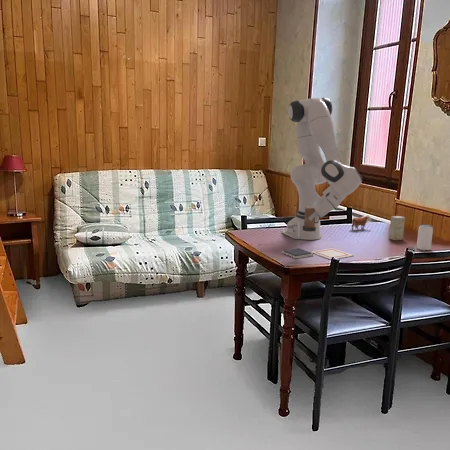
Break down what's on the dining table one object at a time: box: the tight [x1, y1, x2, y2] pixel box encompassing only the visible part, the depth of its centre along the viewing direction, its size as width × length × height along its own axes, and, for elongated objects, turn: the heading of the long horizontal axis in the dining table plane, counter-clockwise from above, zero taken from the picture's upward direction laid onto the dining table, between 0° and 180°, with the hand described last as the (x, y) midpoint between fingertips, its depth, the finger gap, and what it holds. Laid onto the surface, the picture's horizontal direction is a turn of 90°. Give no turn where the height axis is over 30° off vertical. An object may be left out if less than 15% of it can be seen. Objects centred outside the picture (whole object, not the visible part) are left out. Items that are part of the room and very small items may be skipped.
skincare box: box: [388, 215, 406, 241], centre depth 250 cm, size 6×4×12 cm
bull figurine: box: [351, 214, 372, 231], centre depth 271 cm, size 4×13×8 cm, turn 116°
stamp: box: [303, 207, 316, 232], centre depth 215 cm, size 6×6×10 cm
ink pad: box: [281, 247, 314, 259], centre depth 218 cm, size 10×10×2 cm
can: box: [416, 223, 434, 251], centre depth 232 cm, size 6×6×12 cm
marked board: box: [310, 247, 354, 261], centre depth 220 cm, size 14×14×1 cm
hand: (308, 217), depth 215 cm, fingers closed on stamp, 4 cm apart
